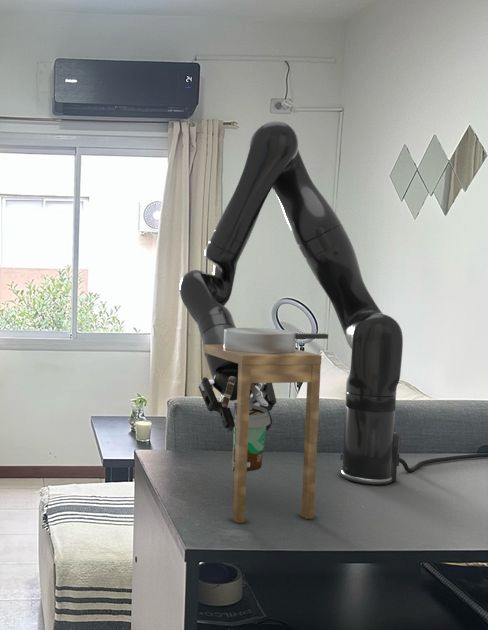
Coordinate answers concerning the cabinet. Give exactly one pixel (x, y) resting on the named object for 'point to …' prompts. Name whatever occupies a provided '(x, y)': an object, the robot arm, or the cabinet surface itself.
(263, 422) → the food container
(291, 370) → the pan shelf
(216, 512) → the cabinet surface
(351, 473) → the robot arm
